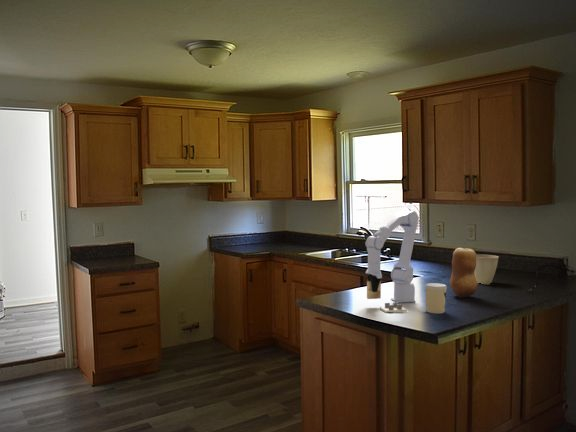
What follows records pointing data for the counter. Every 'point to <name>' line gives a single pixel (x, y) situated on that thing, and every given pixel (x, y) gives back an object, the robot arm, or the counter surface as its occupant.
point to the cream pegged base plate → (393, 308)
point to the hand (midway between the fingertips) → (373, 291)
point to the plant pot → (485, 268)
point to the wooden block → (373, 294)
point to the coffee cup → (435, 297)
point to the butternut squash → (463, 272)
